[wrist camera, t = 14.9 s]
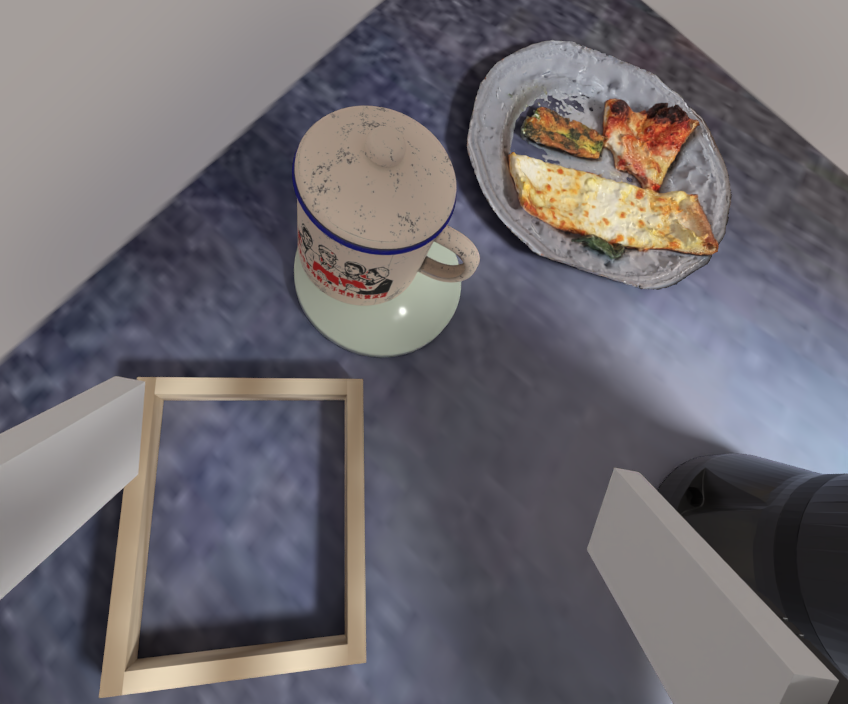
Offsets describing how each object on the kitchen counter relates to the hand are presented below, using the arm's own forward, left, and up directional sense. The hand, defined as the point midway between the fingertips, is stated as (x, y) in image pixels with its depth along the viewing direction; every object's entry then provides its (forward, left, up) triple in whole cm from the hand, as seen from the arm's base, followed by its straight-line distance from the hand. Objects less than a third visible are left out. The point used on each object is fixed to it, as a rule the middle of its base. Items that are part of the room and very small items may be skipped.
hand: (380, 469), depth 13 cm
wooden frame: (+5, +2, -19) cm, 19 cm away
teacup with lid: (-3, -15, -18) cm, 24 cm away
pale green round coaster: (-3, -14, -19) cm, 24 cm away
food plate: (-23, -26, -19) cm, 40 cm away
